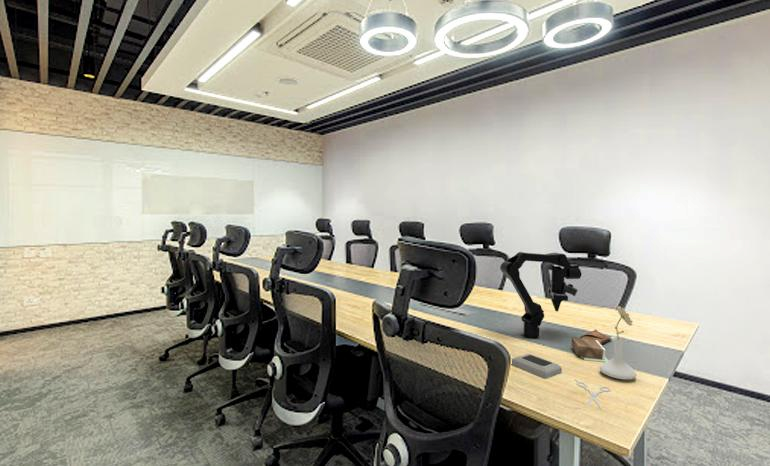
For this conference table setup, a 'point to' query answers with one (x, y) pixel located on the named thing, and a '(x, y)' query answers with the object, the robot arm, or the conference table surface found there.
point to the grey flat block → (537, 365)
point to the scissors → (593, 395)
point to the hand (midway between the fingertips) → (556, 311)
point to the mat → (593, 359)
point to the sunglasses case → (596, 337)
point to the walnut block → (588, 348)
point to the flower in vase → (619, 354)
